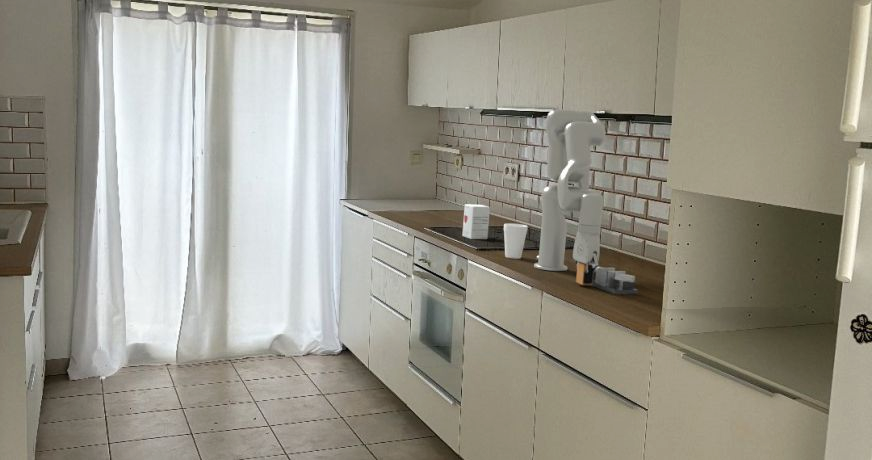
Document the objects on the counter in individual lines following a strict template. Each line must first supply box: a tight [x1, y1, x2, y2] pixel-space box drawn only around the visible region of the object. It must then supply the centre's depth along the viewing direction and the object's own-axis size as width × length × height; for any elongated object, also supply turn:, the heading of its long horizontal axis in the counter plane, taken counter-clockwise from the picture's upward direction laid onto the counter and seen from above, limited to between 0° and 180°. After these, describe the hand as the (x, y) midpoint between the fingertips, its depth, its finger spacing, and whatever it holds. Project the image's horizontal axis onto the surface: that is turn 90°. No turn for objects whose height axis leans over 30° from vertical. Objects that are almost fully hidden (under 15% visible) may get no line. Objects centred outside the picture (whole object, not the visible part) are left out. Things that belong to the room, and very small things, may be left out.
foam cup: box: [503, 223, 528, 259], centre depth 363 cm, size 10×9×13 cm
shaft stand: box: [589, 265, 639, 296], centre depth 309 cm, size 20×9×6 cm, turn 22°
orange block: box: [575, 262, 593, 286], centre depth 310 cm, size 4×4×7 cm
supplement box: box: [461, 203, 491, 240], centre depth 413 cm, size 9×9×15 cm
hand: (584, 281), depth 310 cm, fingers closed on orange block, 4 cm apart
